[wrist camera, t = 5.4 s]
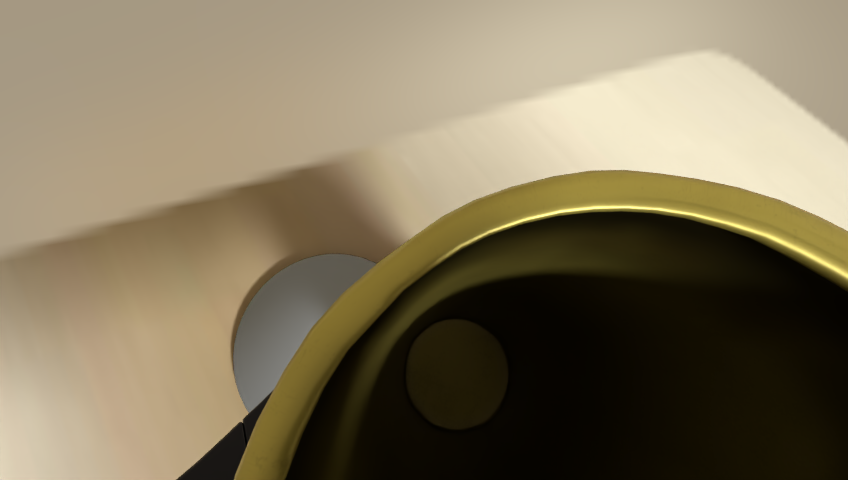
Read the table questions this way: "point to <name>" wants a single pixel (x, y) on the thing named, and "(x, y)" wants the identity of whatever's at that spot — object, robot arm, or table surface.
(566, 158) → the table surface
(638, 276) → the vase
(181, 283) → the table surface
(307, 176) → the table surface
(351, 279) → the mat
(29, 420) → the table surface
